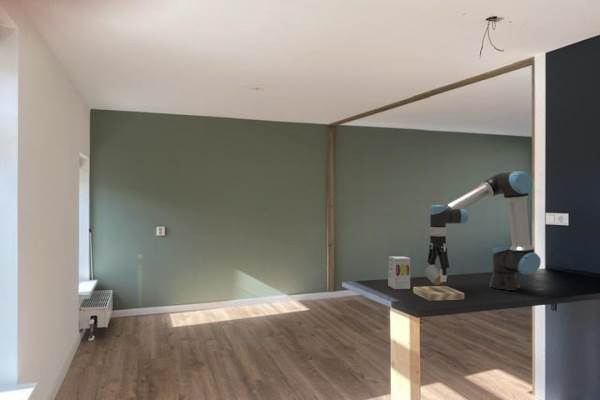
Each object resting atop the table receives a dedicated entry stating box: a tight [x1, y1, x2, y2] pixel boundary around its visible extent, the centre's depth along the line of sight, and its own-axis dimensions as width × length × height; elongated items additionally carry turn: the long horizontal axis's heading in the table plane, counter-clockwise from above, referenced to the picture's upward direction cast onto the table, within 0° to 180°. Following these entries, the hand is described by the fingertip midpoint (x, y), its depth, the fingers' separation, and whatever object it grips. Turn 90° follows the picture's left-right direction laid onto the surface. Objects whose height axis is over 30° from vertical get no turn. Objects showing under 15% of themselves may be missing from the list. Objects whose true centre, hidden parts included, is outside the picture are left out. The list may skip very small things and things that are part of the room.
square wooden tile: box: [412, 285, 465, 302], centre depth 208 cm, size 18×18×3 cm
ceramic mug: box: [424, 263, 449, 286], centre depth 208 cm, size 11×8×8 cm
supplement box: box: [387, 255, 411, 290], centre depth 229 cm, size 10×9×17 cm
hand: (437, 279), depth 208 cm, fingers closed on ceramic mug, 10 cm apart
